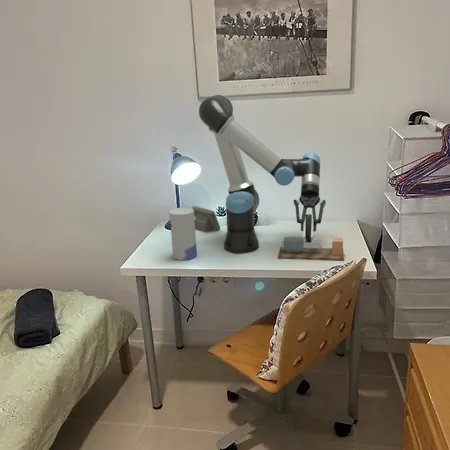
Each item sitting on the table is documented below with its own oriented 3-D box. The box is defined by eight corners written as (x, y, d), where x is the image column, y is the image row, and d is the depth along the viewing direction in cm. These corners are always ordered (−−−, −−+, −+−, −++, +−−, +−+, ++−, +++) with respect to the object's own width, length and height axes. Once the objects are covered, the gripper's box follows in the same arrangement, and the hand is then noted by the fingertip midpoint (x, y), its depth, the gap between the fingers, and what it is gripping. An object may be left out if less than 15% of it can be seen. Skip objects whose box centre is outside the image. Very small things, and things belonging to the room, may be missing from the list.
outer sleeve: (283, 253, 207) (283, 240, 205) (284, 249, 210) (284, 237, 209) (303, 254, 205) (303, 241, 203) (303, 250, 209) (303, 237, 207)
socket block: (332, 255, 202) (332, 241, 200) (332, 250, 207) (332, 237, 205) (342, 255, 201) (342, 241, 200) (342, 251, 206) (342, 237, 204)
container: (175, 251, 217) (172, 207, 211) (198, 251, 216) (195, 206, 210) (171, 260, 208) (167, 214, 201) (194, 260, 206) (191, 213, 200)
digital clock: (222, 231, 240) (221, 209, 237) (205, 235, 236) (204, 213, 233) (206, 222, 254) (205, 202, 250) (190, 226, 250) (188, 205, 246)
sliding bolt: (280, 247, 207) (279, 215, 203) (280, 245, 209) (280, 213, 205) (321, 248, 204) (322, 216, 199) (321, 246, 206) (322, 214, 202)
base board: (277, 258, 204) (277, 256, 204) (280, 248, 214) (280, 246, 214) (343, 260, 199) (343, 258, 199) (343, 250, 209) (343, 248, 209)
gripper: (328, 192, 212) (327, 242, 202) (292, 191, 216) (289, 241, 205) (329, 182, 206) (327, 234, 196) (291, 182, 209) (288, 233, 199)
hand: (308, 238), depth 201 cm, fingers closed on sliding bolt, 2 cm apart
